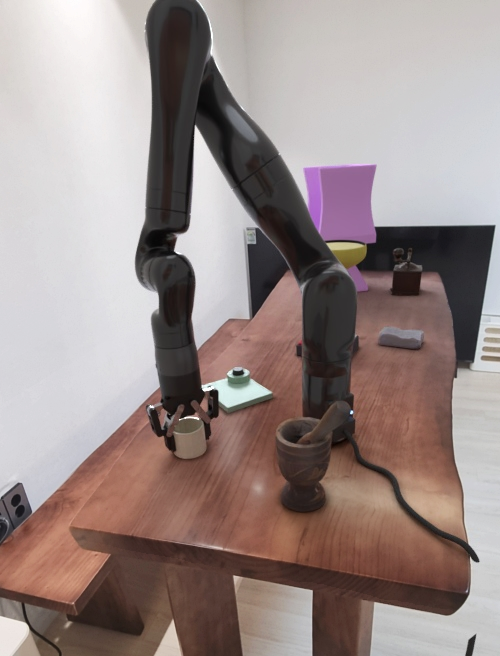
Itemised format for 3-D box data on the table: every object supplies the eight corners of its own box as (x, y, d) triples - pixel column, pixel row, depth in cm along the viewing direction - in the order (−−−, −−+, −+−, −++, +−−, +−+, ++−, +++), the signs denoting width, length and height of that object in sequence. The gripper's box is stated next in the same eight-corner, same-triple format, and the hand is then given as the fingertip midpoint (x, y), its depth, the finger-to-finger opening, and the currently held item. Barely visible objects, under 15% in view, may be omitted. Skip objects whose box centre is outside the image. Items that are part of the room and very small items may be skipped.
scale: (273, 397, 109) (273, 386, 107) (228, 413, 103) (227, 401, 102) (242, 377, 120) (242, 366, 118) (200, 390, 114) (198, 379, 113)
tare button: (245, 374, 115) (245, 369, 114) (236, 377, 114) (235, 371, 113) (240, 371, 117) (239, 365, 116) (231, 374, 116) (230, 368, 115)
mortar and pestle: (353, 490, 78) (359, 383, 68) (343, 525, 71) (348, 410, 61) (286, 478, 81) (283, 375, 72) (271, 510, 74) (265, 400, 65)
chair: (303, 283, 201) (302, 167, 180) (352, 278, 204) (357, 163, 183) (318, 296, 182) (319, 168, 161) (372, 291, 185) (380, 164, 164)
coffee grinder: (390, 288, 187) (394, 241, 179) (419, 288, 184) (425, 241, 176) (388, 298, 174) (392, 249, 166) (419, 299, 171) (424, 249, 163)
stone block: (384, 340, 142) (376, 345, 133) (386, 324, 140) (378, 328, 132) (424, 346, 137) (418, 351, 128) (427, 330, 135) (422, 334, 127)
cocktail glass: (319, 336, 143) (319, 252, 131) (298, 319, 158) (297, 243, 147) (372, 328, 147) (378, 246, 135) (347, 312, 162) (350, 237, 151)
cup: (212, 451, 90) (209, 427, 88) (182, 462, 87) (178, 438, 85) (197, 437, 95) (194, 413, 93) (168, 447, 92) (164, 423, 90)
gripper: (147, 383, 77) (162, 466, 85) (223, 361, 83) (230, 440, 91) (132, 369, 83) (147, 448, 90) (204, 349, 89) (213, 424, 97)
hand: (189, 443), depth 91 cm, fingers closed on cup, 6 cm apart
